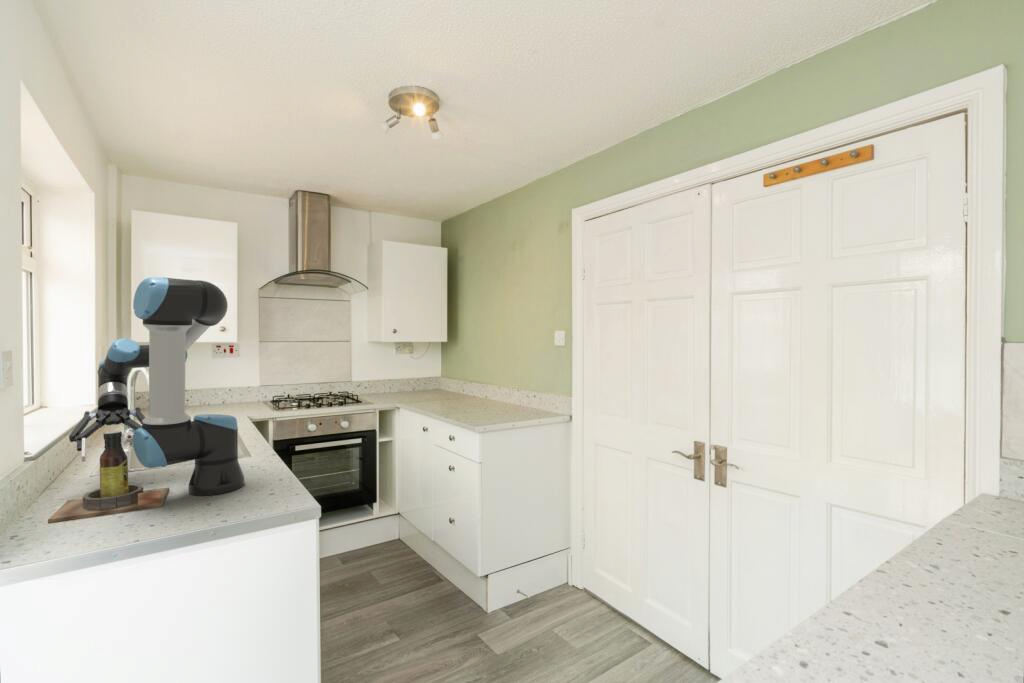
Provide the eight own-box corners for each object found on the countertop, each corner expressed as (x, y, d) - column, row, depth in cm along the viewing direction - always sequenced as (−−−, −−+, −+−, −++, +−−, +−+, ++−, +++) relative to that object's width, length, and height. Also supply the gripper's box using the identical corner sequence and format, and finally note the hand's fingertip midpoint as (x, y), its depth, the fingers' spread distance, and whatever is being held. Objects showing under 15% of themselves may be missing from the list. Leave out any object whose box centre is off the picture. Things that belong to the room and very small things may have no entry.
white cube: (101, 472, 171) (101, 452, 171) (121, 467, 178) (121, 448, 178) (117, 474, 169) (116, 453, 169) (136, 468, 176) (136, 449, 176)
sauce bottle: (130, 501, 139) (129, 432, 139) (102, 507, 135) (100, 435, 134) (126, 496, 144) (125, 429, 143) (98, 501, 139) (97, 432, 139)
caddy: (169, 490, 152) (169, 477, 152) (161, 507, 138) (161, 492, 138) (67, 503, 140) (67, 490, 140) (48, 523, 126) (47, 507, 126)
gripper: (160, 403, 168) (163, 455, 157) (61, 410, 153) (58, 469, 141) (160, 389, 164) (164, 442, 153) (59, 395, 148) (55, 454, 137)
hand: (113, 455), depth 147 cm, fingers open, 13 cm apart
